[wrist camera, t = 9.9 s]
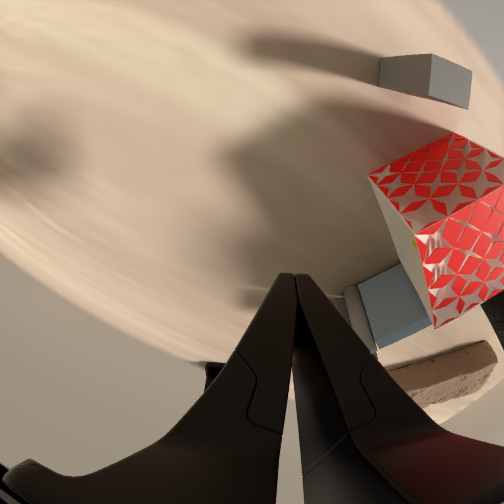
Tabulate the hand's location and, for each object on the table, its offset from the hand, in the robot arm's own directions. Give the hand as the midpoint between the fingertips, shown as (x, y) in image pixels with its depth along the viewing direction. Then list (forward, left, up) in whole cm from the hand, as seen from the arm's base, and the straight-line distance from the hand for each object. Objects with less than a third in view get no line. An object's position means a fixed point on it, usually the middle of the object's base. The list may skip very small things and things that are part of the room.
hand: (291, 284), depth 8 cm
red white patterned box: (+11, -1, -12) cm, 17 cm away
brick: (+25, -25, -12) cm, 37 cm away
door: (+13, -5, -11) cm, 18 cm away
